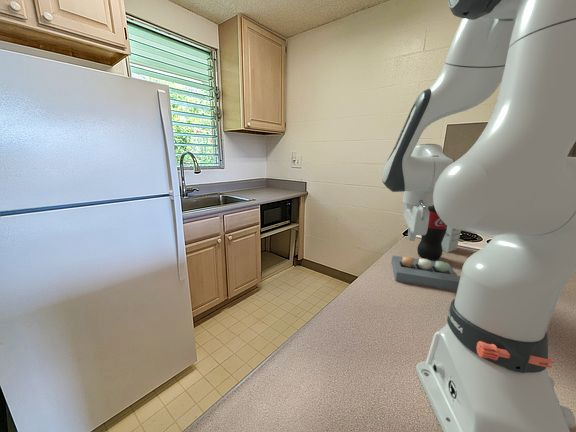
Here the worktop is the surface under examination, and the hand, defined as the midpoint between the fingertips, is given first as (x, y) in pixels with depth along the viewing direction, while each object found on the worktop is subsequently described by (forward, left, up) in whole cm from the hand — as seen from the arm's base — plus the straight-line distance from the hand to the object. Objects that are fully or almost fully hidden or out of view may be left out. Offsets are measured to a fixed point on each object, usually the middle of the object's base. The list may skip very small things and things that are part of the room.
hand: (411, 239), depth 80 cm
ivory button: (0, -5, -9) cm, 10 cm away
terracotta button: (0, 0, -9) cm, 9 cm away
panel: (0, -5, -12) cm, 13 cm away
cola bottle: (+18, -11, -12) cm, 24 cm away
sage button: (0, -10, -9) cm, 13 cm away
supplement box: (+32, -20, -12) cm, 39 cm away
